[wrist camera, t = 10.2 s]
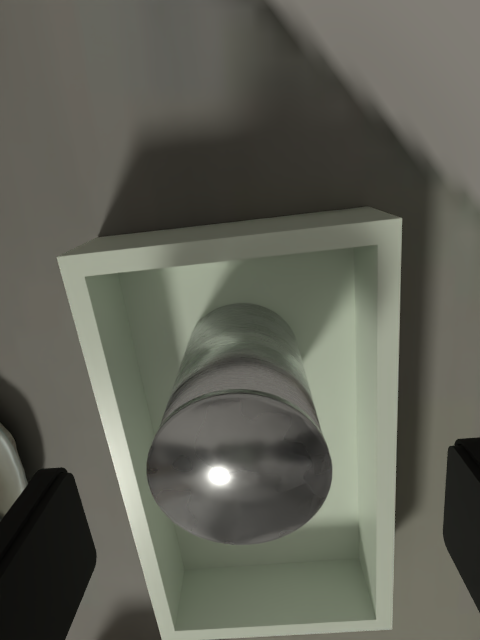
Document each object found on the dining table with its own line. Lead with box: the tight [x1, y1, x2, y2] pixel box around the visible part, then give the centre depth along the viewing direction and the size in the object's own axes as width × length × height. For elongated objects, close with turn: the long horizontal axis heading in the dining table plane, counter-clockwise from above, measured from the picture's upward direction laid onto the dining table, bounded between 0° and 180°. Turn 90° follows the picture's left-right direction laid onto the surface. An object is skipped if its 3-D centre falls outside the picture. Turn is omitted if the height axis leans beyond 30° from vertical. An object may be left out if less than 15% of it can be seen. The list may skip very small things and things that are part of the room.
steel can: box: [146, 303, 332, 545], centre depth 14 cm, size 5×5×7 cm
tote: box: [57, 206, 402, 640], centre depth 17 cm, size 10×18×4 cm, turn 6°
